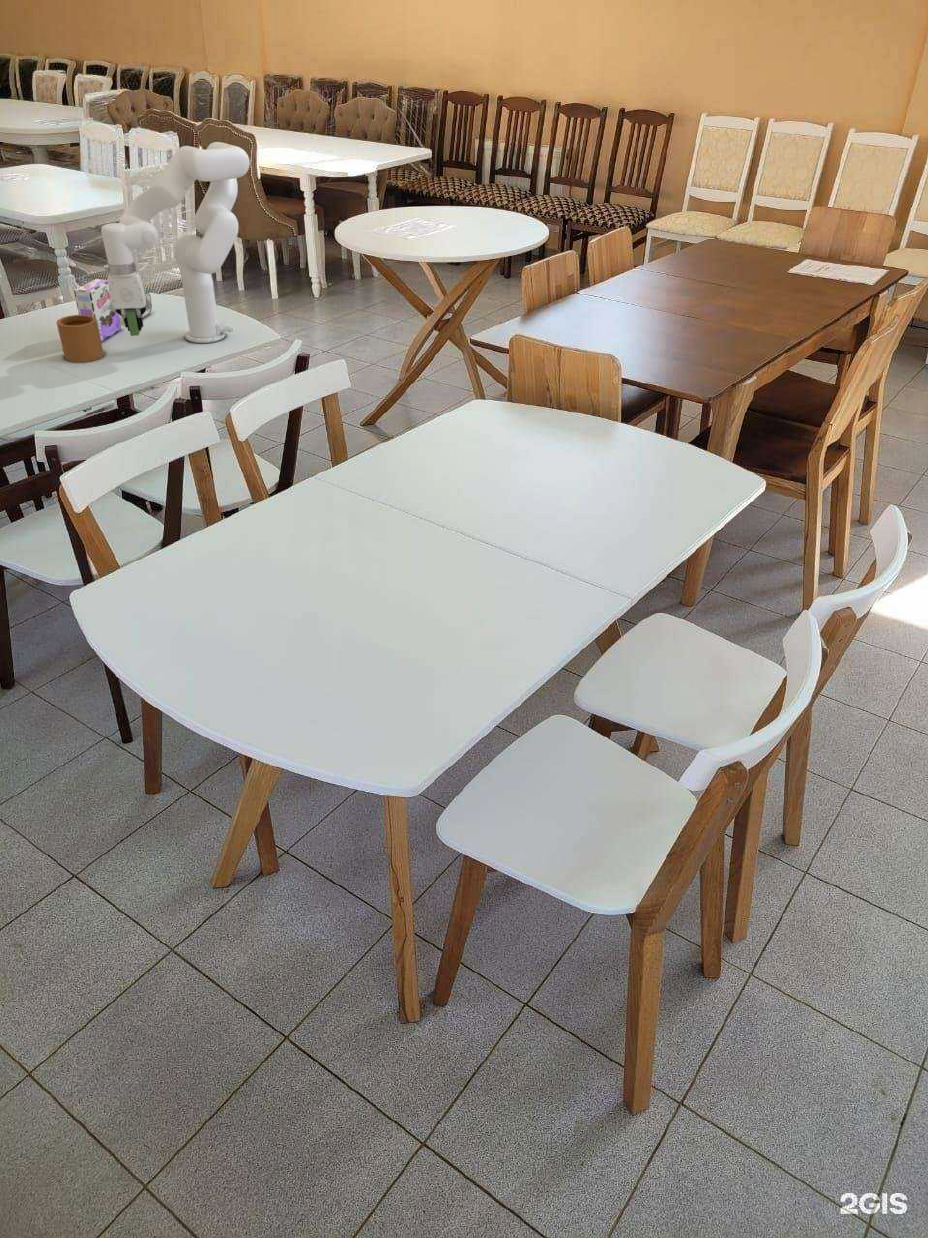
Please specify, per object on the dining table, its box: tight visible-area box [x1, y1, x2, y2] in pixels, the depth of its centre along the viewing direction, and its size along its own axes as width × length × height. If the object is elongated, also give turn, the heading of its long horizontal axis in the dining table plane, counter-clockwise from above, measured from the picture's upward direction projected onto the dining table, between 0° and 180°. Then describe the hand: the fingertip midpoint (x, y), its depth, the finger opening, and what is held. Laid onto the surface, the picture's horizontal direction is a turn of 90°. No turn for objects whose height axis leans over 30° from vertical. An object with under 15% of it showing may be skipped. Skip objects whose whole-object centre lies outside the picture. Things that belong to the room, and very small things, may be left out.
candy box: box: [73, 278, 122, 342], centre depth 295 cm, size 14×6×16 cm, turn 168°
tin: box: [142, 291, 153, 320], centre depth 312 cm, size 15×3×8 cm, turn 169°
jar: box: [56, 314, 105, 363], centre depth 281 cm, size 11×11×11 cm
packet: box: [125, 308, 141, 337], centre depth 282 cm, size 3×6×8 cm, turn 10°
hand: (135, 328), depth 283 cm, fingers closed on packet, 2 cm apart
